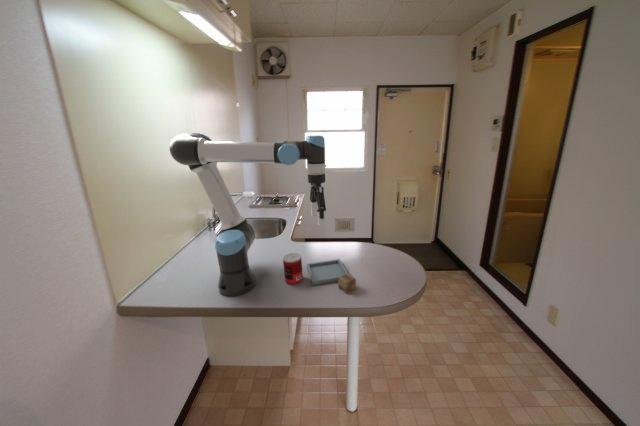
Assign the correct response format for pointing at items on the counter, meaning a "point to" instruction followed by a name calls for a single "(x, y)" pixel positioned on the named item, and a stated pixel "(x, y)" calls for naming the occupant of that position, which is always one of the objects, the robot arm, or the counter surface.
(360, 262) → the counter surface
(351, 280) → the walnut block
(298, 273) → the canned food
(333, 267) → the tray
